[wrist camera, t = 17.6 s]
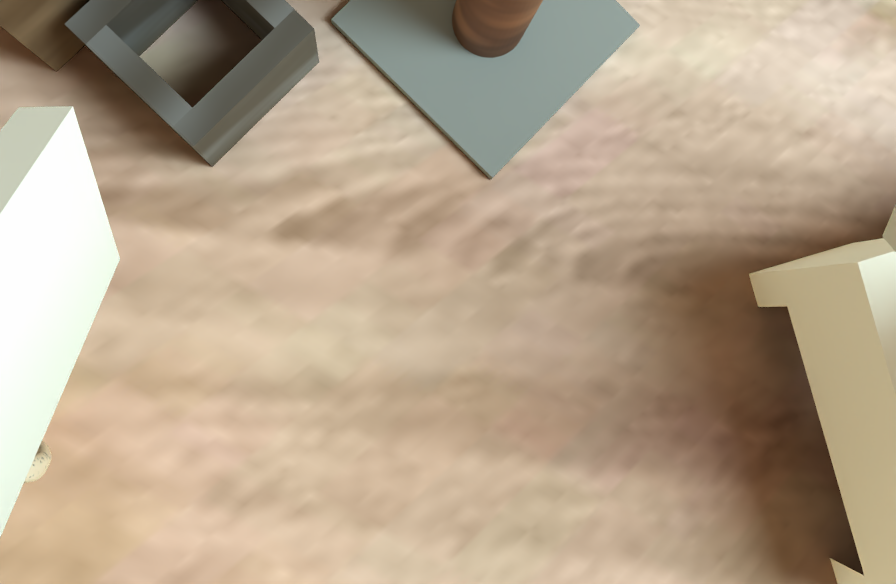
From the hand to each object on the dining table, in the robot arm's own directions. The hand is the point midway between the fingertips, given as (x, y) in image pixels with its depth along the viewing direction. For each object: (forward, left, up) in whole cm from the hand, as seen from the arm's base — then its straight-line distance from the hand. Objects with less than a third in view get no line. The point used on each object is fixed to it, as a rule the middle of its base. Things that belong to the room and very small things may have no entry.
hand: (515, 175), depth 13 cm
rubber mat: (-6, +13, -31) cm, 34 cm away
